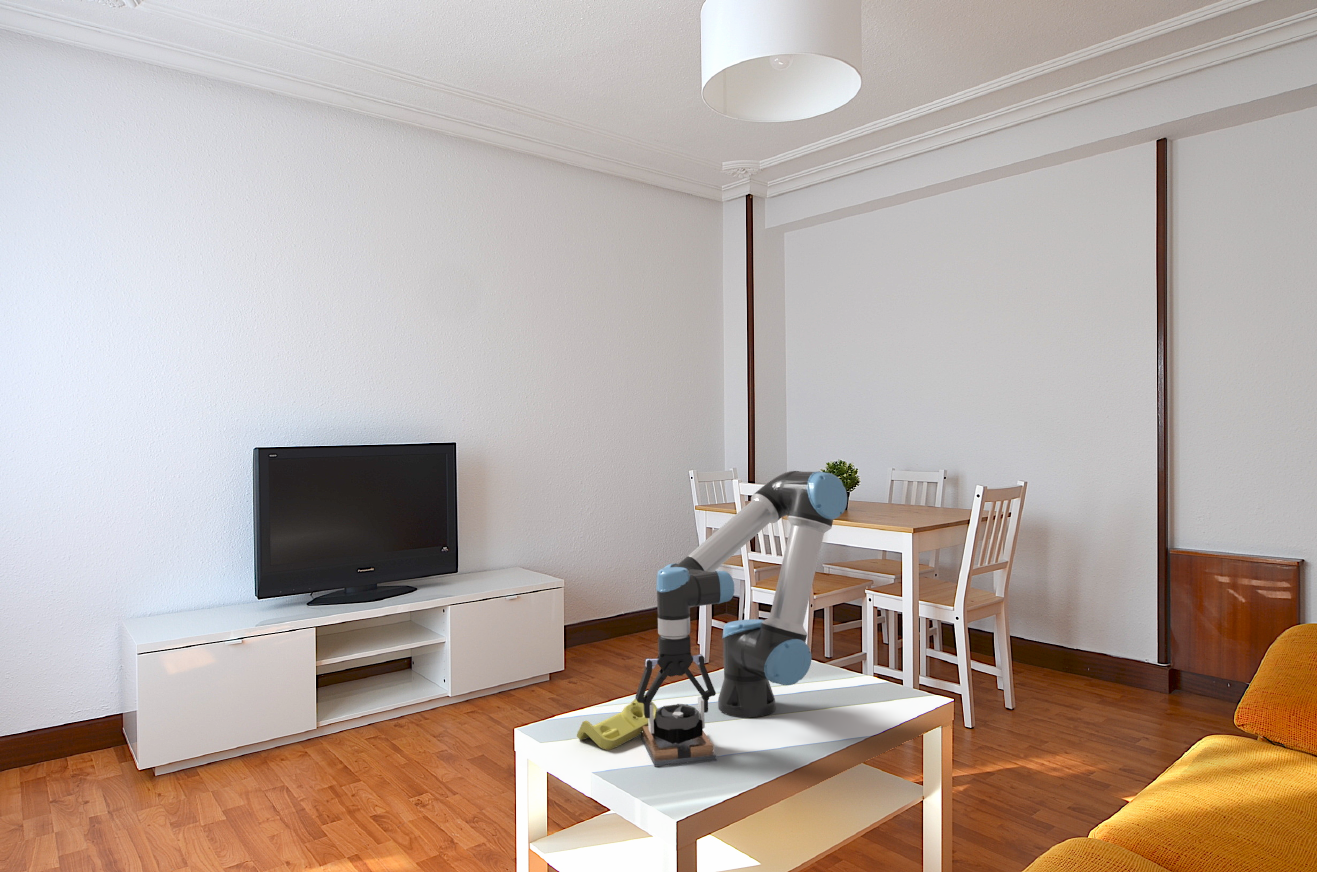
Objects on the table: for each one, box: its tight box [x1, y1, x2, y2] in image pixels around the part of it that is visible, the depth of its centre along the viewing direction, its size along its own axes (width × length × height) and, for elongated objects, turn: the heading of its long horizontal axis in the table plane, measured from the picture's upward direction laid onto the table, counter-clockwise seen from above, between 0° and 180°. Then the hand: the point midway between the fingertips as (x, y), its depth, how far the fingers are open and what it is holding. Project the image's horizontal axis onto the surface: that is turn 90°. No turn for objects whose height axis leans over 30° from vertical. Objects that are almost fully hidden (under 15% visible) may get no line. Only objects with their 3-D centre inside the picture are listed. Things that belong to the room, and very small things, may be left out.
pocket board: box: [639, 726, 717, 768], centre depth 186 cm, size 14×18×3 cm
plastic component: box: [576, 694, 658, 751], centre depth 195 cm, size 20×7×10 cm
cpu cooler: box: [652, 703, 704, 744], centre depth 185 cm, size 10×6×10 cm
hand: (676, 728), depth 186 cm, fingers closed on cpu cooler, 11 cm apart
